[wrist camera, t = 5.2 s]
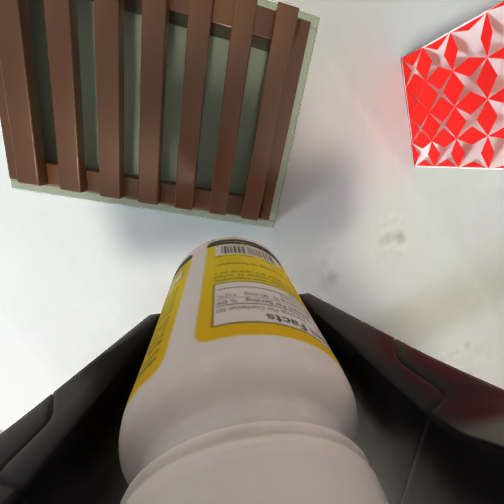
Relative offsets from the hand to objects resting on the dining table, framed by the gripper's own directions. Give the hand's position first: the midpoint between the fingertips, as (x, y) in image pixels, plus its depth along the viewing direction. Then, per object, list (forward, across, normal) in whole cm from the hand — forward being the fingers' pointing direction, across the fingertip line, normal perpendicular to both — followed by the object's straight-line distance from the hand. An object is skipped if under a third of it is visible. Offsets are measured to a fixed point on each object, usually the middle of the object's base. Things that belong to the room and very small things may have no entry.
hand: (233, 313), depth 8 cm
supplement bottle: (+2, 0, 0) cm, 2 cm away
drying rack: (+12, +3, -8) cm, 15 cm away
